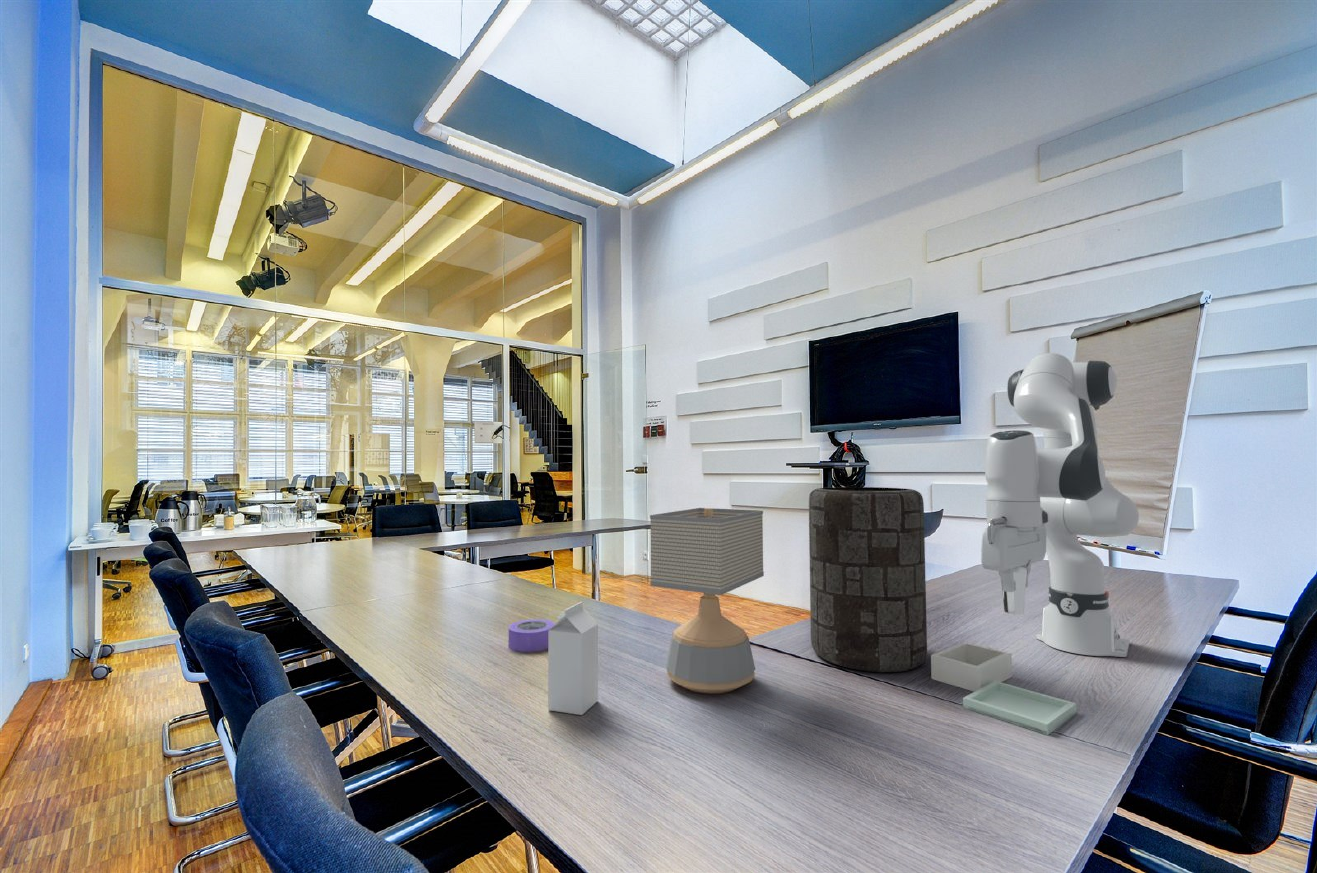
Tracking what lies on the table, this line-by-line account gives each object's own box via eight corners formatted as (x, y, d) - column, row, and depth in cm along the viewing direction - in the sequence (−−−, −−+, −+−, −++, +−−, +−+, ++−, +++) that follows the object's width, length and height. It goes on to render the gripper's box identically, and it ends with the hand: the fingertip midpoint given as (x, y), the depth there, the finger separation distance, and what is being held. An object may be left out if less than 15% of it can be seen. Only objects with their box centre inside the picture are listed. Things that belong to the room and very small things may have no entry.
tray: (995, 689, 118) (995, 680, 118) (1076, 713, 106) (1076, 703, 107) (963, 707, 109) (962, 698, 109) (1047, 735, 98) (1047, 724, 98)
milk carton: (598, 701, 113) (598, 603, 114) (581, 716, 106) (581, 612, 107) (565, 696, 115) (566, 600, 116) (547, 711, 108) (548, 608, 109)
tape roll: (549, 652, 142) (549, 632, 143) (502, 652, 143) (502, 632, 143) (558, 638, 154) (558, 619, 154) (515, 638, 154) (515, 619, 155)
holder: (964, 663, 133) (964, 641, 133) (1012, 676, 125) (1011, 653, 125) (931, 679, 124) (930, 655, 124) (980, 693, 116) (979, 668, 116)
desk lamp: (729, 710, 108) (727, 514, 110) (644, 689, 118) (644, 510, 120) (771, 674, 127) (769, 506, 128) (695, 658, 137) (693, 503, 138)
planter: (950, 660, 135) (945, 489, 137) (882, 685, 120) (878, 493, 122) (855, 633, 157) (853, 485, 159) (788, 651, 142) (786, 488, 144)
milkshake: (1037, 616, 106) (1035, 561, 107) (1005, 615, 107) (1004, 560, 108) (1027, 610, 111) (1025, 557, 111) (996, 608, 112) (994, 556, 112)
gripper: (1007, 520, 101) (1010, 600, 100) (1052, 513, 113) (1054, 585, 112) (970, 517, 106) (972, 594, 105) (1017, 511, 118) (1019, 579, 117)
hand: (1015, 589), depth 109 cm, fingers closed on milkshake, 4 cm apart
